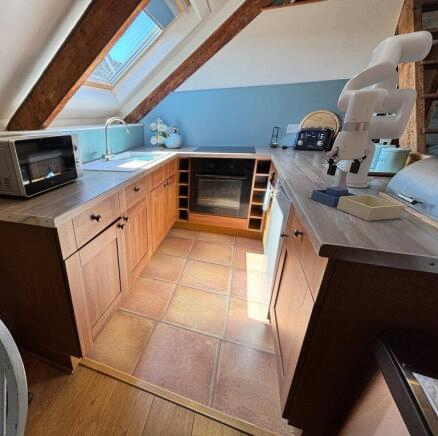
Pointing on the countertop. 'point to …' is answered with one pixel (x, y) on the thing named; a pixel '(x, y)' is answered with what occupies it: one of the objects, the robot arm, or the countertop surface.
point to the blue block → (336, 192)
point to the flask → (341, 180)
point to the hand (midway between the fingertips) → (341, 174)
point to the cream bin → (370, 207)
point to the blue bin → (327, 197)
